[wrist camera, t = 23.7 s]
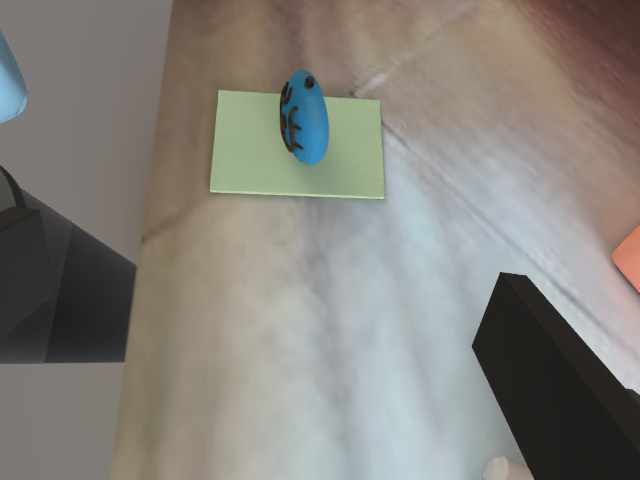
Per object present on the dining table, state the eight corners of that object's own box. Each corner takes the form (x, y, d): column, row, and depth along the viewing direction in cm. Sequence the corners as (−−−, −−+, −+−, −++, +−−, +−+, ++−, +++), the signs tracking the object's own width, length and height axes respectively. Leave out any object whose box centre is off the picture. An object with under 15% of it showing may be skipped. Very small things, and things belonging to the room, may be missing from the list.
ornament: (272, 113, 42) (270, 41, 32) (313, 107, 43) (323, 35, 33) (288, 181, 40) (291, 125, 30) (332, 174, 40) (348, 116, 31)
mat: (210, 192, 39) (209, 189, 39) (219, 93, 43) (218, 89, 42) (383, 199, 41) (385, 197, 40) (378, 103, 44) (379, 100, 44)
